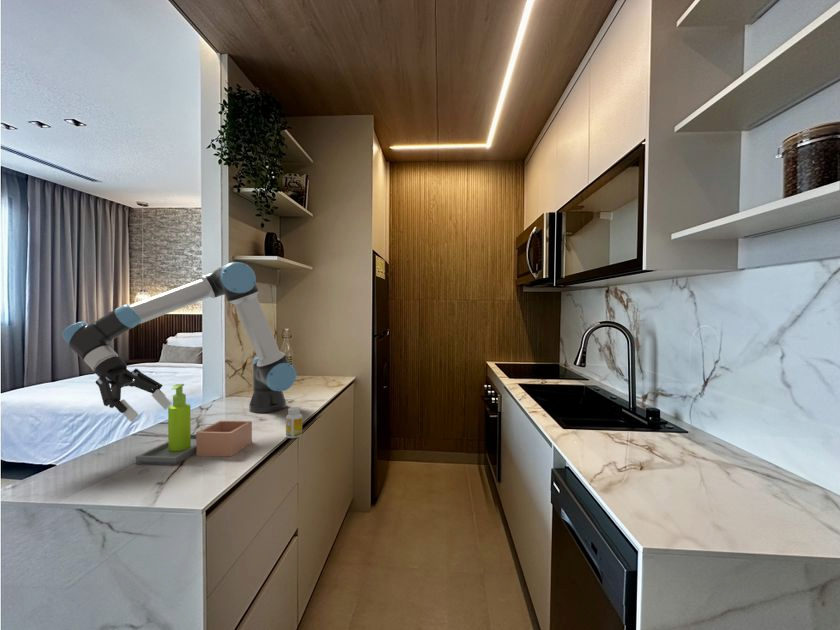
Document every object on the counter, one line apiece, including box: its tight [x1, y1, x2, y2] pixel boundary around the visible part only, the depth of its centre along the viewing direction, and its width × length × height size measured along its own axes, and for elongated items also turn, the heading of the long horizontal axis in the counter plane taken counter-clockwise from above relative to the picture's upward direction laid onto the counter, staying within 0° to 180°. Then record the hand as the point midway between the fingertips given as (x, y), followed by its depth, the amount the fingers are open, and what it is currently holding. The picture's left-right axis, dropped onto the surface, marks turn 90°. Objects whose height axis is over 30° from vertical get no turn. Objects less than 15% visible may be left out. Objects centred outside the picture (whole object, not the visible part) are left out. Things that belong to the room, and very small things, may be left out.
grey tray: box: [135, 433, 197, 466], centre depth 119 cm, size 20×12×2 cm, turn 176°
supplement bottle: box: [285, 406, 303, 439], centre depth 133 cm, size 5×5×10 cm
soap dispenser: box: [167, 383, 192, 452], centre depth 119 cm, size 6×7×20 cm
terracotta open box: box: [195, 420, 253, 457], centre depth 121 cm, size 12×11×7 cm
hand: (152, 412), depth 119 cm, fingers open, 13 cm apart
